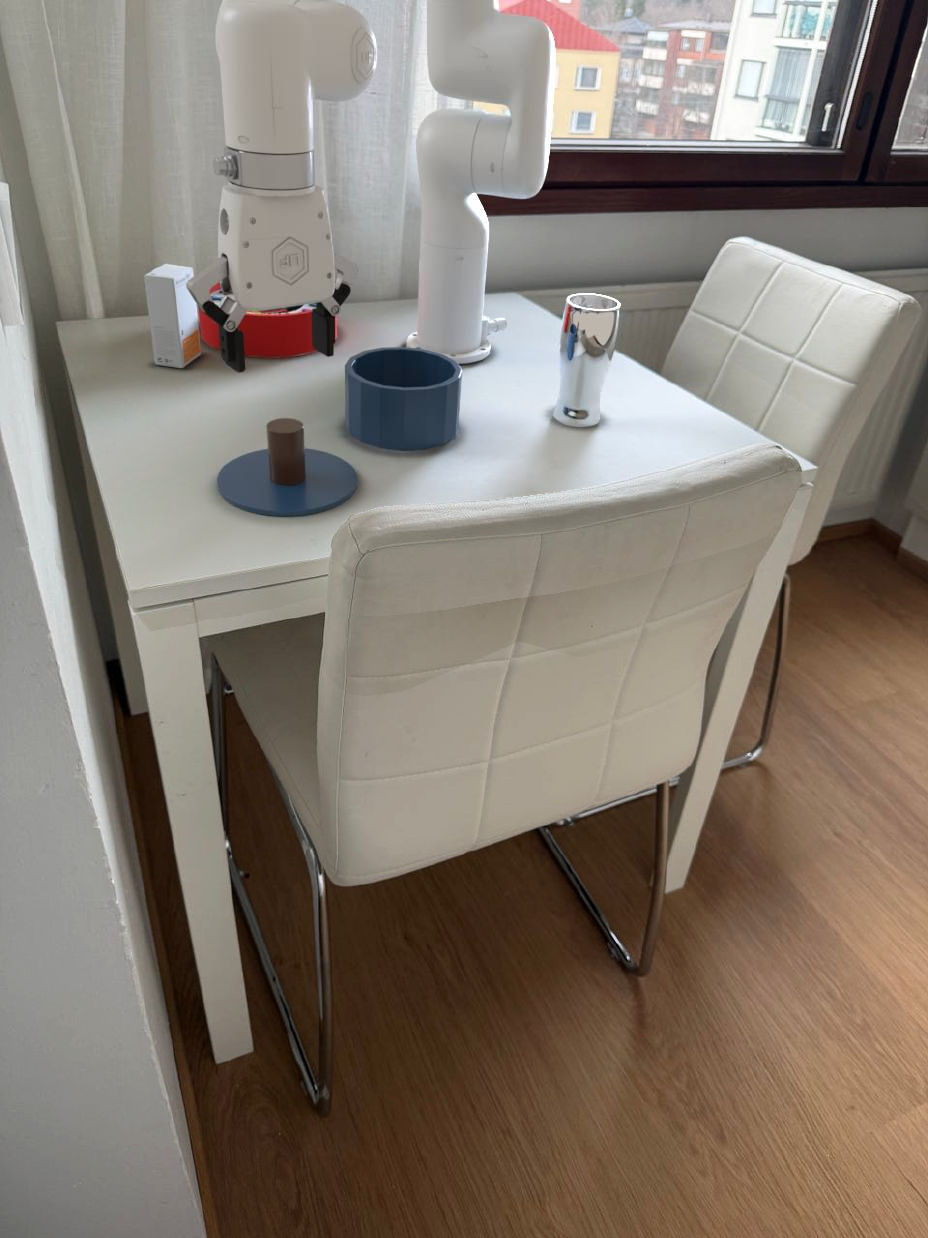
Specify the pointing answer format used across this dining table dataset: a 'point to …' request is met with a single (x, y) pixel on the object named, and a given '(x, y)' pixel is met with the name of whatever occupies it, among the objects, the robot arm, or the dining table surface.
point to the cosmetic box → (172, 316)
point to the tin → (402, 398)
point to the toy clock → (267, 329)
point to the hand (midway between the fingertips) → (280, 359)
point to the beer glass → (585, 356)
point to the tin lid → (286, 476)
